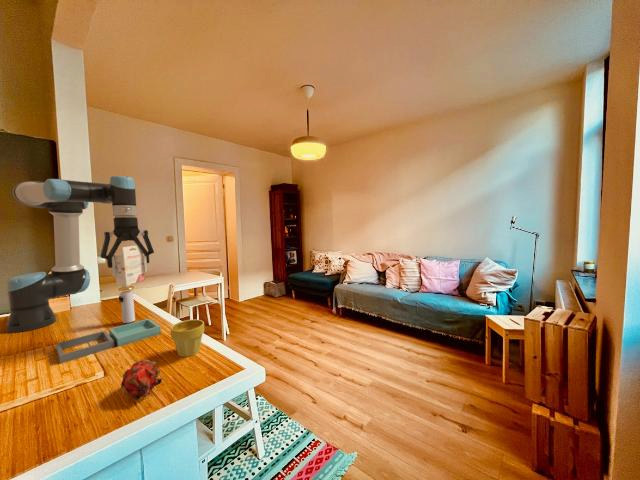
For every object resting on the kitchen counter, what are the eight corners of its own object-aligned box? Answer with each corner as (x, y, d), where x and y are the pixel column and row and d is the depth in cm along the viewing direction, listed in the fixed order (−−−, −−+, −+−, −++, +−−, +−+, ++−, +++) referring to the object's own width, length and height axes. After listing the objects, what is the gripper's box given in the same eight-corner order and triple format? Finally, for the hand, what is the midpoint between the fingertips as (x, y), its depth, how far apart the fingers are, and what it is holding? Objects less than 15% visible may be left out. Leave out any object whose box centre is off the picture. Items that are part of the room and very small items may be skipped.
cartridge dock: (56, 350, 94) (55, 343, 94) (105, 336, 104) (105, 330, 104) (60, 363, 85) (59, 356, 85) (114, 347, 95) (113, 340, 95)
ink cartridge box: (135, 280, 108) (132, 244, 107) (145, 280, 107) (142, 244, 106) (115, 285, 100) (112, 247, 99) (126, 285, 99) (122, 247, 98)
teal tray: (109, 336, 104) (108, 329, 104) (149, 325, 115) (149, 318, 115) (118, 346, 95) (117, 338, 95) (160, 333, 106) (160, 326, 106)
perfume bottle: (134, 319, 123) (131, 277, 121) (138, 322, 119) (135, 279, 117) (119, 323, 118) (115, 279, 117) (123, 326, 114) (119, 281, 113)
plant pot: (212, 348, 93) (210, 321, 92) (186, 362, 83) (184, 333, 83) (191, 342, 97) (190, 317, 96) (165, 356, 88) (163, 328, 87)
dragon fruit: (144, 383, 76) (147, 413, 66) (113, 377, 71) (111, 408, 61) (163, 356, 77) (169, 382, 68) (134, 349, 72) (135, 375, 63)
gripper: (89, 217, 91) (95, 280, 92) (160, 216, 107) (164, 270, 109) (86, 217, 95) (91, 277, 97) (154, 216, 112) (158, 268, 114)
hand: (130, 273), depth 103 cm, fingers closed on ink cartridge box, 10 cm apart
